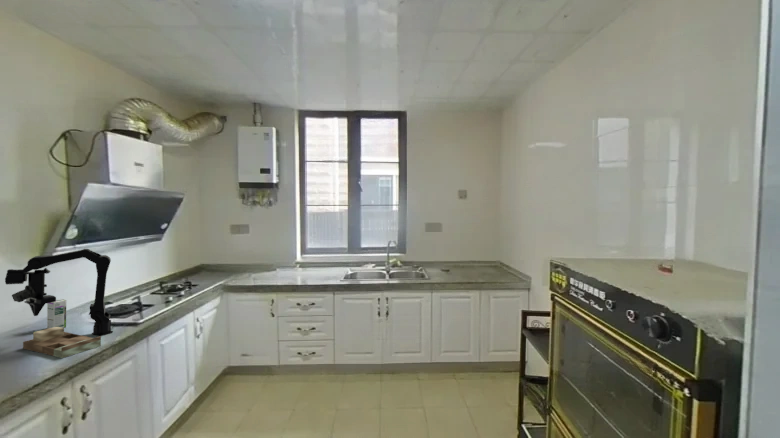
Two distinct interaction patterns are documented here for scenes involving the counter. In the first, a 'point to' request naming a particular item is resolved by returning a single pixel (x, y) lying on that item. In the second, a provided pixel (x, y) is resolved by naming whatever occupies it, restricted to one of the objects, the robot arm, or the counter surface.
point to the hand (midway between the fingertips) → (35, 315)
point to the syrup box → (56, 314)
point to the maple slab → (48, 334)
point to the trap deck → (63, 345)
